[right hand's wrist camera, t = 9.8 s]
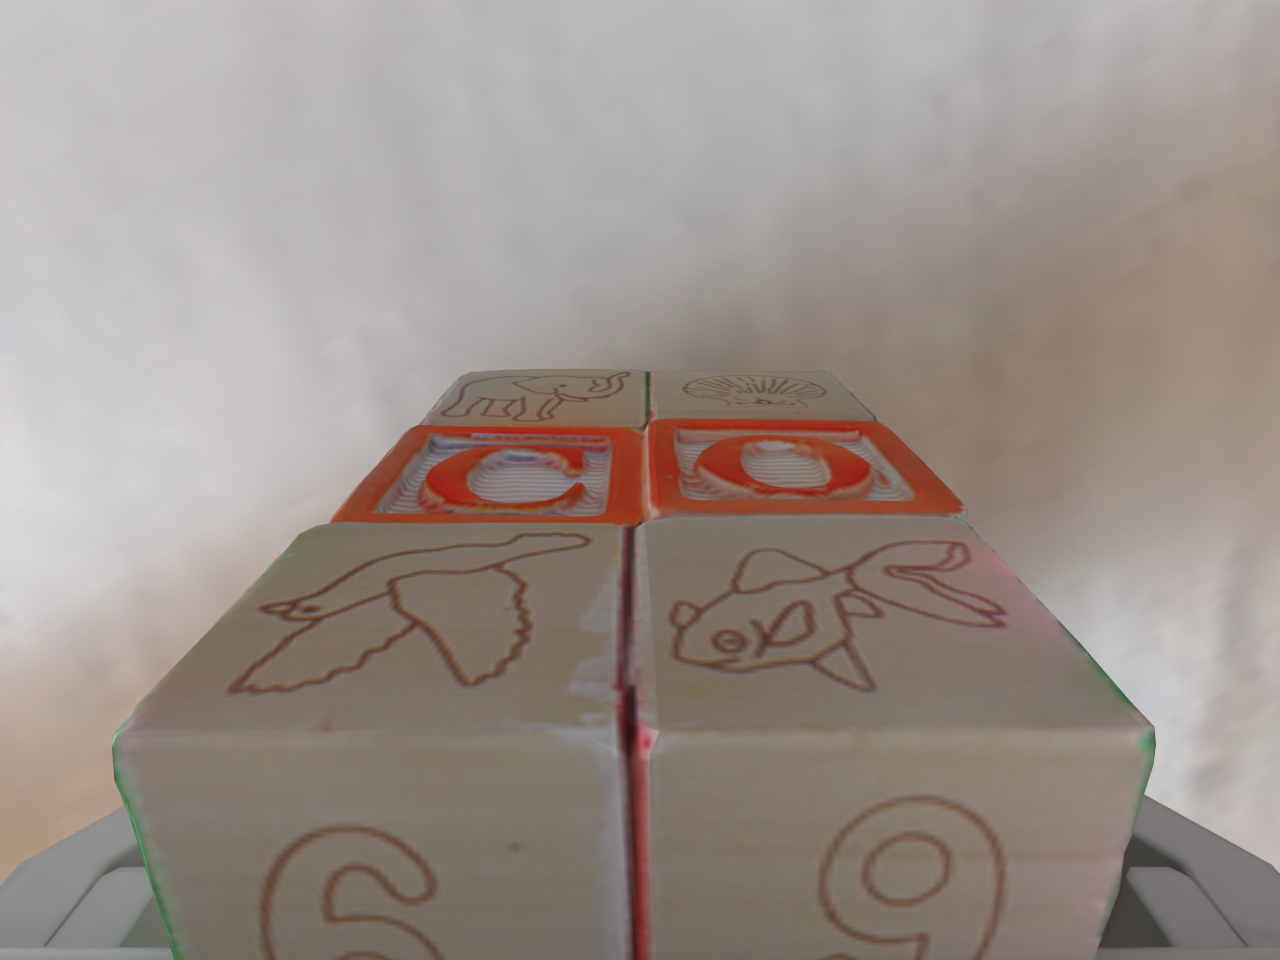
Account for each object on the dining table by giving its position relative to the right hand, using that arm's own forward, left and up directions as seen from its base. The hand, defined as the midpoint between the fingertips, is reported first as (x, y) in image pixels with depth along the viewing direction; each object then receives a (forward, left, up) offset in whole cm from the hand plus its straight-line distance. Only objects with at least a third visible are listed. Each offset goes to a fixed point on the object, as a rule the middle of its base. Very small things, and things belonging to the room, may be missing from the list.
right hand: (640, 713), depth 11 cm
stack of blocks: (+7, 0, -4) cm, 8 cm away
